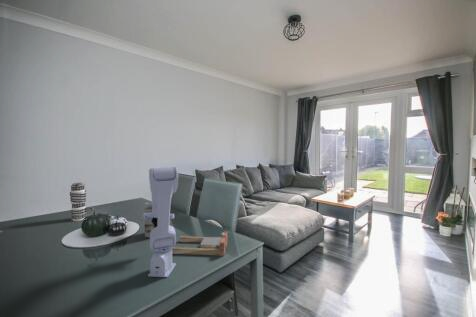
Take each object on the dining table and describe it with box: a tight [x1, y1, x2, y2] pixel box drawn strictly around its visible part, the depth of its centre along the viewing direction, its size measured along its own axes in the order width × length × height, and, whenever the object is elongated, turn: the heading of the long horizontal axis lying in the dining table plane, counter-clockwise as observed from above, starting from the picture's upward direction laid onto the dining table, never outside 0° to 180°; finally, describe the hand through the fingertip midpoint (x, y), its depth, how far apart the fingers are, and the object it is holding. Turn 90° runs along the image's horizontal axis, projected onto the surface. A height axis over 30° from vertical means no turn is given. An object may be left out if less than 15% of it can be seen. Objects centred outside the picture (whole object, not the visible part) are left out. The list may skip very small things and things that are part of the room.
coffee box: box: [144, 205, 155, 238], centre depth 125 cm, size 9×6×16 cm
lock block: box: [199, 236, 222, 249], centre depth 109 cm, size 8×10×4 cm
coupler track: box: [172, 230, 229, 257], centre depth 109 cm, size 14×25×6 cm, turn 86°
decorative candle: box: [69, 182, 87, 222], centre depth 151 cm, size 9×9×25 cm
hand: (159, 232), depth 104 cm, fingers closed
